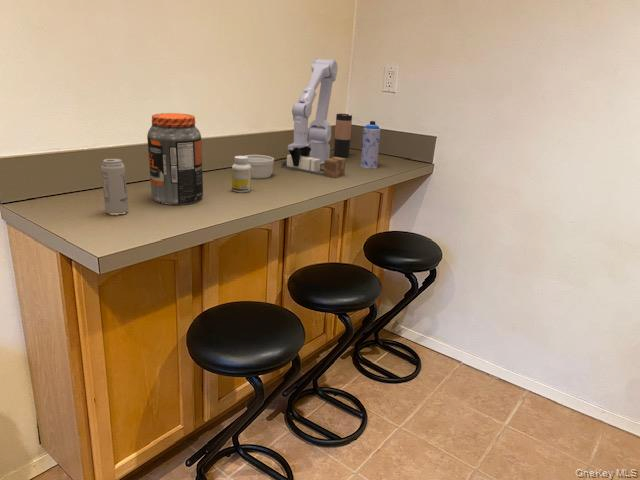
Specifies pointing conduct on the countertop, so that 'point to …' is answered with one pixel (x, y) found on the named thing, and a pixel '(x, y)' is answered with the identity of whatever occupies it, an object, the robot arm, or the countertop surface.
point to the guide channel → (284, 165)
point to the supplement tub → (175, 159)
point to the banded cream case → (305, 163)
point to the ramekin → (260, 166)
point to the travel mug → (342, 135)
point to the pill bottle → (241, 174)
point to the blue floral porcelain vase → (370, 146)
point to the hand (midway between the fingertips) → (299, 165)
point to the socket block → (334, 167)
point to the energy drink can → (114, 186)
